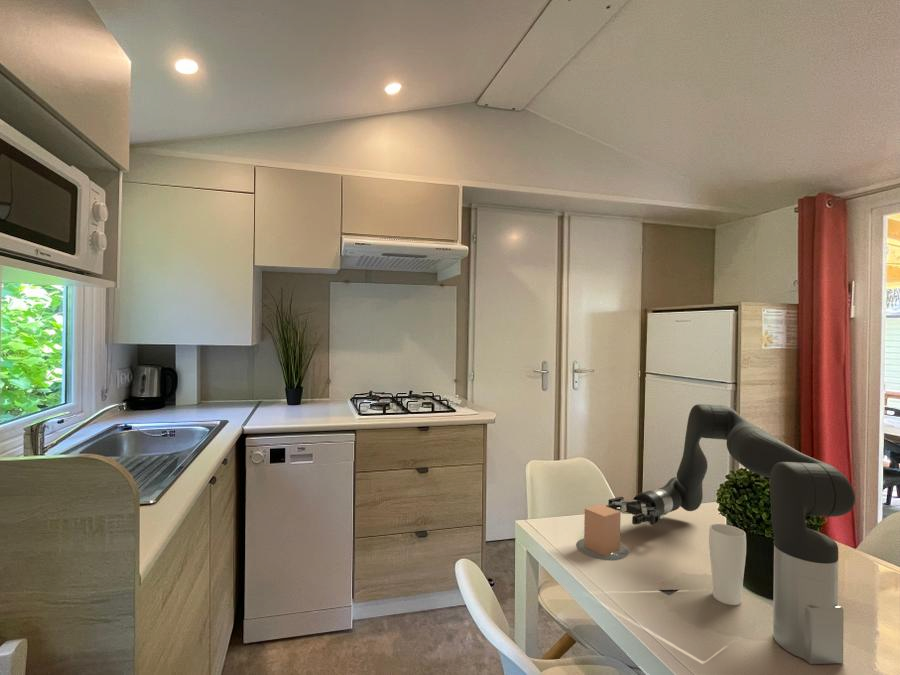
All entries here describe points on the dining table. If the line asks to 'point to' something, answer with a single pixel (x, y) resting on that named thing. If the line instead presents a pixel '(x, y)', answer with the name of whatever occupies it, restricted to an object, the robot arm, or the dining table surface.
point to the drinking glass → (727, 562)
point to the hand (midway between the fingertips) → (619, 515)
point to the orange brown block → (602, 529)
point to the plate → (613, 556)
